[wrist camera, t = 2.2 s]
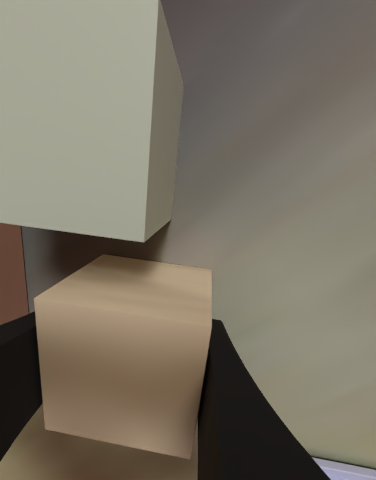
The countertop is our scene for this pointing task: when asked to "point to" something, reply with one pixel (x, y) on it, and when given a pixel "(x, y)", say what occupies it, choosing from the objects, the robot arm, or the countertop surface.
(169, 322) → the maple block
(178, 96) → the sage block
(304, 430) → the countertop surface
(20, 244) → the plinth
